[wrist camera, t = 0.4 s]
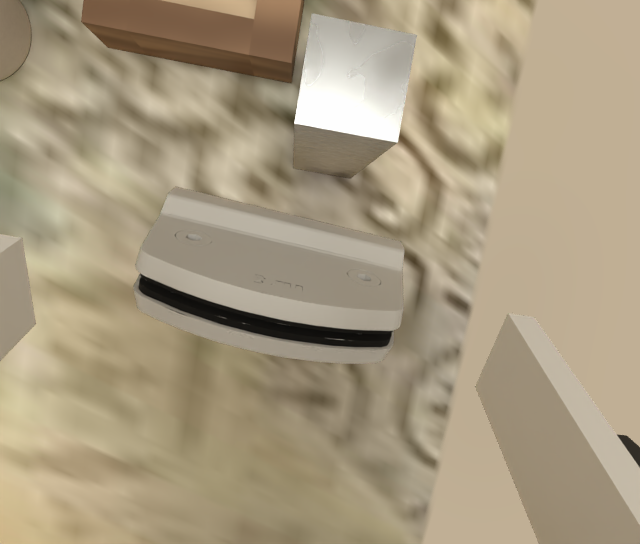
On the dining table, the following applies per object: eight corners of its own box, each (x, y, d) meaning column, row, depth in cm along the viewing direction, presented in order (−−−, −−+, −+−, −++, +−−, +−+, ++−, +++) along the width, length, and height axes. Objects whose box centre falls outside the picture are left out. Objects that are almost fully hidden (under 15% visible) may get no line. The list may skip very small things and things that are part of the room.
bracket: (350, 178, 31) (397, 142, 17) (293, 168, 31) (294, 123, 17) (370, 59, 31) (437, -78, 17) (312, 47, 30) (329, -102, 16)
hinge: (406, 242, 32) (436, 315, 23) (386, 299, 34) (406, 387, 25) (169, 184, 31) (102, 238, 22) (162, 248, 33) (98, 321, 24)
